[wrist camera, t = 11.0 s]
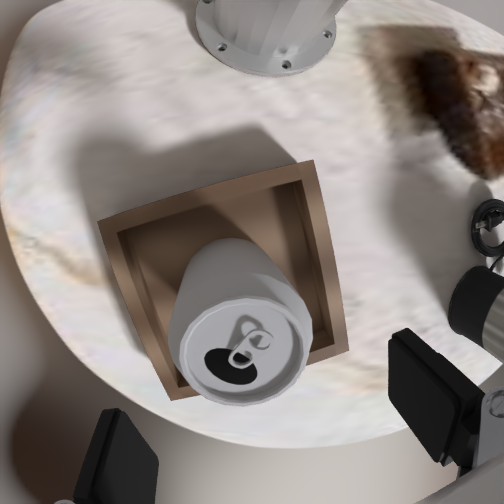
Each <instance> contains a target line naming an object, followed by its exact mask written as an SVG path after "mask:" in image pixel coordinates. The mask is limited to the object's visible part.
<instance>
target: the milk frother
mask: <svg viewBox="0 0 504 504" xmlns="http://www.w3.org/2000/svg"><path fill="white" fill-rule="evenodd" d="M493 210H495V211H493ZM496 210H498V211H496ZM490 211H493V212H490ZM503 220H504V202H503V201H501V200H498V199H489V200H487V201H485V202H483V203H482V204H481V205H480V206H479V207H478V208H477V210H476V211H475V213H474V216H473V219H472V225H471V233H472V240H473V243H474V245H475V247H476V249H477V250H478V251H479V252H480V253H482V254H483V255H485V256H488V257H495V256H499V255H500V256H499V258H498V259H497V260H496V261H495V262H494V263H493V264H492V266H491V267H490V269H488V268H487V267H485V266H477V267H474V268H472V269H471V270H470V271H469V272H467V273H466V274H465V276H464V277H463V278H462V279H461V281H460V282H459V284H458V285H457V287H456V289H455V291H454V294H453V296H452V299H451V304H450V309H449V322H450V326H451V328H452V330H453V331H454V332H455V333H457V334H459V335H463V336H465V337H467V338H468V339H470V340H471V341H473V342H475V343H476V344H478V345H479V346H481V347H482V348H483V349H485V350H486V351H488V352H489V353H490V354H491V355H493V356H494V357H495V358H497V359H498V360H499V361H501V362H502V363H503V364H504V277H503V276H500V275H498V274H496V273H494V272H492V271H493V269H494V267H495V266H496V264H497V263H498V262H499V261H500V260H501V259H502V258H503V257H504V241H503V242H502V243H501V244H500V245H498V246H496V247H490V246H487V245H485V244H484V242H483V241H482V239H481V235H480V228H482V227H483V228H485V229H486V230H487V231H488V232H491V230H492V228H493V227H495V226H497V225H498V224H501V223H502V221H503Z"/></svg>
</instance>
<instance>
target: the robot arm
mask: <svg viewBox="0 0 504 504" xmlns="http://www.w3.org/2000/svg"><path fill="white" fill-rule="evenodd" d="M347 1H348V0H199V2H198V4H197V6H196V14H195V20H196V28H197V31H198V35H199V37H200V39H201V41H202V42H203V44H204V46H205V47H206V48H207V49H208V50H209V51H210V53H211V54H212V55H213V56H215V57H216V58H217V59H219V60H220V61H221V62H223V63H224V64H226V65H228V66H230V67H232V68H234V69H236V70H239V71H242V72H245V73H248V74H252V75H258V76H264V77H282V76H290V75H294V74H298V73H301V72H304V71H306V70H308V69H310V68H312V67H313V66H315V65H316V64H317V63H319V62H320V61H321V60H322V59H323V58H324V57H325V56H326V55H327V54H328V52H329V51H330V49H331V47H332V46H333V44H334V41H335V38H336V21H335V15H336V14H337V13H338V11H339V10H340V9H341V8H342V7H343V5H344V4H345V3H346V2H347ZM220 49H223V50H224V51H219V50H220ZM282 66H285V67H286V68H287V69H284V68H283V67H282ZM388 366H389V371H388V396H389V399H390V401H391V403H392V404H393V405H394V407H395V408H396V410H397V411H398V412H399V414H400V415H401V416H402V418H403V419H404V420H405V422H406V423H407V425H408V426H409V427H410V429H411V430H412V431H413V433H414V434H415V436H416V437H417V438H418V440H419V441H420V442H421V444H422V445H423V446H424V448H425V449H426V451H427V452H428V454H429V455H430V456H431V457H432V459H433V460H434V462H436V463H438V462H440V463H441V464H442V466H443V467H444V466H446V465H448V464H449V463H451V462H452V461H454V462H455V463H456V464H457V466H459V467H458V472H457V477H456V480H455V481H454V482H452V483H451V484H449V485H447V486H446V487H444V488H442V489H440V490H439V491H437V492H435V493H433V494H431V495H430V496H428V497H426V498H424V499H422V500H420V501H418V502H416V503H415V504H504V387H497V388H494V389H492V390H490V391H489V392H488V393H487V394H485V393H484V392H483V391H482V390H481V389H479V388H478V387H477V386H476V385H475V384H474V383H473V382H472V381H471V380H470V379H469V378H467V377H466V376H465V375H464V374H463V373H462V372H461V371H460V370H459V369H457V368H456V367H455V366H454V365H453V364H452V363H451V362H450V361H448V360H447V359H446V358H445V357H444V356H443V355H441V354H440V353H437V352H436V351H435V350H433V349H432V348H431V347H430V346H429V345H428V344H427V343H425V342H424V341H423V340H422V339H421V338H420V337H418V336H417V335H416V334H415V333H414V332H413V331H411V330H410V329H409V328H405V329H403V330H401V331H398V332H396V333H394V334H392V339H390V340H389V341H388ZM158 466H159V461H158V457H157V456H156V454H155V453H154V452H153V450H152V449H151V448H150V446H149V445H148V444H147V442H146V441H145V440H144V438H143V437H142V436H141V434H140V433H139V432H138V430H137V429H136V427H135V426H134V424H133V423H132V421H131V420H130V418H129V417H128V415H127V414H126V413H125V412H123V411H121V410H120V409H119V408H114V409H104V410H103V411H102V413H101V415H100V418H99V420H98V423H97V426H96V429H95V431H94V434H93V437H92V440H91V442H90V445H89V448H88V451H87V454H86V456H85V460H84V462H83V465H82V468H81V472H80V474H79V478H78V481H77V484H76V487H75V490H74V493H73V498H74V501H73V502H72V501H68V500H61V501H58V502H56V503H54V504H155V494H156V485H157V476H158Z"/></svg>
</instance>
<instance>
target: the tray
mask: <svg viewBox="0 0 504 504" xmlns="http://www.w3.org/2000/svg"><path fill="white" fill-rule="evenodd" d="M97 222H98V225H99V229H100V232H101V235H102V238H103V242H104V245H105V248H106V251H107V254H108V257H109V260H110V263H111V265H112V268H113V271H114V274H115V277H116V279H117V282H118V285H119V287H120V290H121V293H122V295H123V298H124V300H125V303H126V305H127V308H128V310H129V313H130V315H131V318H132V320H133V322H134V325H135V327H136V329H137V332H138V334H139V336H140V339H141V341H142V343H143V345H144V347H145V350H146V352H147V354H148V356H149V358H150V360H151V362H152V364H153V367H154V369H155V371H156V373H157V375H158V377H159V379H160V381H161V383H162V385H163V387H164V388H165V390H166V392H167V394H168V396H169V398H170V400H171V401H173V400H178V399H183V398H188V397H193V396H197V395H201V394H199V393H198V392H197V391H195V390H194V389H192V387H191V386H190V385H189V383H188V382H187V381H186V379H185V378H184V377H183V375H182V374H181V372H180V371H179V369H178V368H177V367H176V365H175V364H174V362H173V360H172V356H171V353H170V349H169V346H168V333H169V322H170V319H171V315H172V312H173V309H174V305H175V302H176V299H177V295H178V292H179V289H180V286H181V283H182V279H183V276H184V273H185V270H186V268H187V266H188V264H189V262H190V260H191V258H192V257H193V256H194V255H195V254H196V253H197V252H198V251H199V250H200V249H201V248H202V247H203V246H205V245H207V244H209V243H211V242H213V241H215V240H218V239H225V238H231V237H232V238H238V239H244V240H248V241H250V242H252V243H254V244H255V245H257V246H259V247H261V248H262V249H263V250H264V252H265V253H266V254H267V255H268V256H269V257H270V258H271V259H272V260H273V262H274V263H275V264H276V266H277V267H278V268H279V270H280V271H281V272H282V273H283V275H284V276H285V277H286V279H287V280H288V281H289V283H290V284H291V285H292V286H293V288H294V289H295V290H296V292H297V293H298V294H299V296H300V297H301V298H302V300H303V301H304V303H305V305H306V308H307V310H308V312H309V314H310V317H311V319H312V333H313V340H312V344H311V347H310V350H309V356H308V359H307V362H306V366H307V365H310V364H313V363H316V362H319V361H322V360H325V359H327V358H330V357H333V356H336V355H338V354H341V353H344V352H346V351H349V345H348V337H347V330H346V323H345V316H344V309H343V303H342V296H341V290H340V284H339V278H338V273H337V267H336V262H335V256H334V251H333V246H332V241H331V236H330V231H329V226H328V221H327V216H326V212H325V207H324V202H323V198H322V194H321V189H320V185H319V181H318V177H317V172H316V168H315V164H314V160H309V161H304V162H300V163H295V164H291V165H287V166H282V167H278V168H274V169H270V170H266V171H262V172H258V173H254V174H250V175H246V176H242V177H238V178H235V179H231V180H227V181H223V182H220V183H216V184H213V185H209V186H206V187H202V188H199V189H195V190H192V191H188V192H185V193H182V194H178V195H175V196H172V197H169V198H165V199H162V200H159V201H156V202H153V203H150V204H147V205H144V206H140V207H137V208H134V209H131V210H129V211H126V212H123V213H120V214H117V215H114V216H111V217H108V218H106V219H103V220H100V221H97Z"/></svg>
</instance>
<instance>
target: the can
mask: <svg viewBox="0 0 504 504" xmlns="http://www.w3.org/2000/svg"><path fill="white" fill-rule="evenodd" d="M312 340H313V333H312V319H311V317H310V314H309V312H308V310H307V308H306V305H305V303H304V301H303V300H302V298H301V297H300V296H299V294H298V293H297V292H296V290H295V289H294V288H293V286H292V285H291V284H290V283H289V281H288V280H287V279H286V277H285V276H284V275H283V273H282V272H281V271H280V270H279V268H278V267H277V266H276V264H275V263H274V262H273V260H272V259H271V258H270V257H269V256H268V255H267V254H266V253H265V252H264V250H263V249H262V248H261V247H259V246H257V245H255V244H254V243H252V242H250V241H248V240H244V239H238V238H232V237H231V238H225V239H218V240H215V241H213V242H211V243H209V244H207V245H205V246H203V247H202V248H201V249H200V250H199V251H198V252H197V253H196V254H195V255H194V256H193V257H192V258H191V260H190V262H189V264H188V266H187V268H186V270H185V273H184V276H183V279H182V283H181V286H180V289H179V292H178V295H177V299H176V302H175V305H174V309H173V312H172V315H171V319H170V322H169V333H168V346H169V349H170V353H171V356H172V360H173V362H174V364H175V365H176V367H177V368H178V369H179V371H180V372H181V374H182V375H183V377H184V378H185V379H186V381H187V382H188V383H189V385H190V386H191V387H192V389H194V390H195V391H197V392H198V393H199V394H201V395H202V396H204V397H205V398H206V399H209V400H211V401H214V402H217V403H220V404H223V405H230V406H243V407H244V406H250V405H256V404H261V403H264V402H267V401H269V400H271V399H273V398H276V397H278V396H280V395H281V394H282V393H284V392H285V391H286V390H288V389H289V388H290V387H291V386H293V385H294V384H295V382H296V381H297V379H298V378H299V377H300V375H301V374H302V372H303V371H304V369H305V366H306V362H307V359H308V356H309V350H310V347H311V344H312Z"/></svg>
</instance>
